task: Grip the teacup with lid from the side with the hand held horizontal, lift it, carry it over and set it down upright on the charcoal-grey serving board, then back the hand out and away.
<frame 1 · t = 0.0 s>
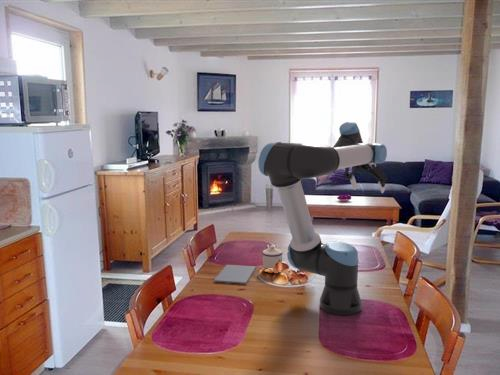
hand: (369, 189, 200), 36 cm above the table, tool tilted 35°, fingers open, 13 cm apart
serving board: (235, 275, 195), on the table
teacup with lid: (273, 270, 201), on the table
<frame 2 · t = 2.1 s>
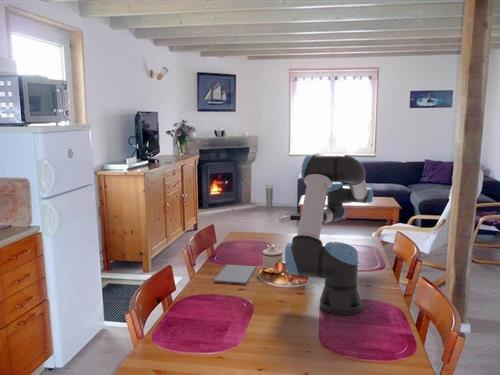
hand: (289, 223, 204), 20 cm above the table, tool horizontal, fingers open, 13 cm apart
nothing on the table moved.
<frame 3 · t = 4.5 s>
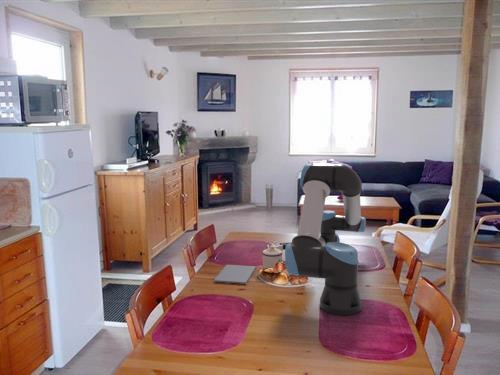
hand: (281, 253, 204), 6 cm above the table, tool horizontal, fingers open, 13 cm apart
nothing on the table moved.
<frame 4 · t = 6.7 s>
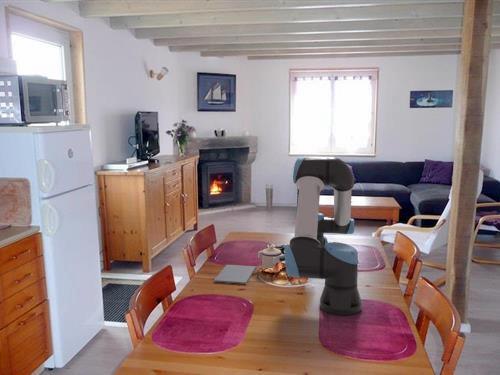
hand: (265, 257, 198), 7 cm above the table, tool horizontal, fingers open, 10 cm apart
teacup with lid: (272, 269, 202), on the table, touching gripper
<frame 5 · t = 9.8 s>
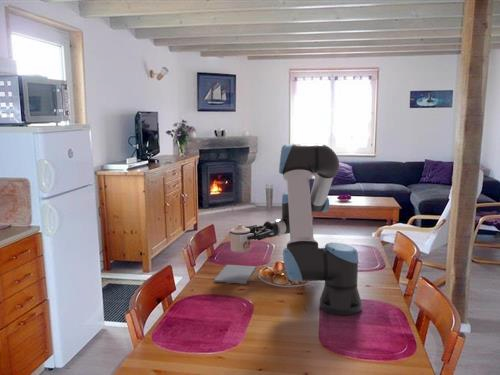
hand: (234, 236, 192), 18 cm above the table, tool horizontal, fingers closed on teacup with lid, 9 cm apart
teacup with lid: (241, 249, 196), point 11 cm above the table, touching gripper
when the fingers open (9 cm above the table, at t = 12.7 s): teacup with lid drops 1 cm, resting on serving board.
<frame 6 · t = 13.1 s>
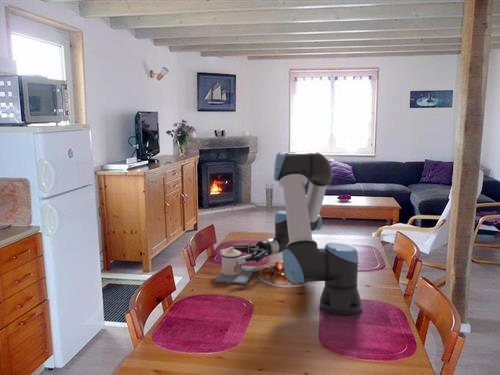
hand: (229, 257, 192), 9 cm above the table, tool horizontal, fingers open, 13 cm apart
teacup with lid: (233, 271, 197), point 1 cm above the table, touching serving board
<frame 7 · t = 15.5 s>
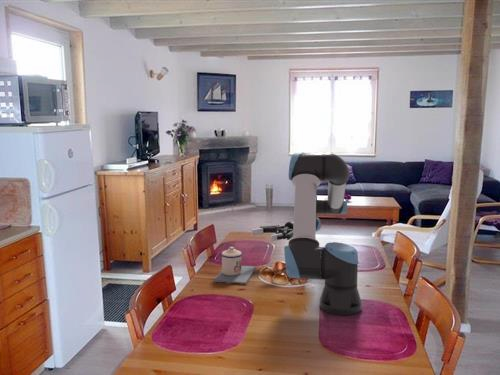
hand: (261, 235, 200), 16 cm above the table, tool horizontal, fingers open, 13 cm apart
nothing on the table moved.
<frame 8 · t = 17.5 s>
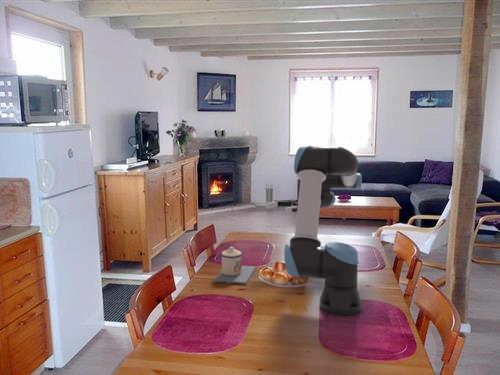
hand: (275, 208, 200), 28 cm above the table, tool horizontal, fingers open, 13 cm apart
nothing on the table moved.
at the end: teacup with lid inside the target area on the serving board (2.3 cm from its centre), point 0.8 cm above the serving board's base; teacup with lid tilted 1°; the gripper is holding nothing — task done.
